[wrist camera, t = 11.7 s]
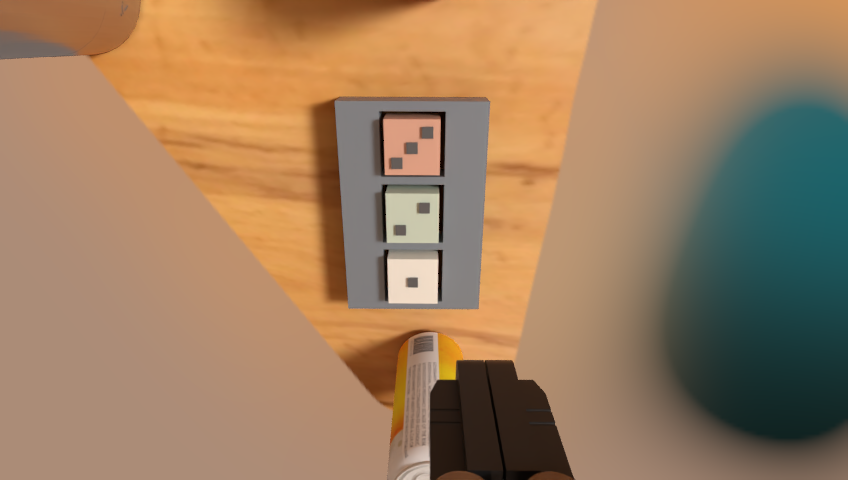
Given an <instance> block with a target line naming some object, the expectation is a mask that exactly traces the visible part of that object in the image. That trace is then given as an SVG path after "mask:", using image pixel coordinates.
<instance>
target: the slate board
mask: <svg viewBox="0 0 848 480" xmlns="http://www.w3.org/2000/svg"><path fill="white" fill-rule="evenodd" d="M382 111H432V112H445V120H444V169H440V175H385V168H384V166H383V133H382ZM489 112H490V101H489V100H488V99H487V98H486V97H339V98H338V99H337V100H335V116H336V130H337V145H338V160H339V175H340V190H341V204H342V219H343V234H344V249H345V263H346V278H347V293H348V308H368V309H478V307H479V289H480V272H481V254H482V236H483V219H484V201H485V183H486V165H487V148H488V130H489ZM384 184H402V185H443V218H442V231H439V243H387V231H385V199H384ZM386 249H399V250H442V267H441V287H438V303H437V304H408V303H389V298H388V287H387V266H386Z"/></svg>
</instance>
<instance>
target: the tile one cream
mask: <svg viewBox="0 0 848 480" xmlns="http://www.w3.org/2000/svg"><path fill="white" fill-rule="evenodd" d="M387 264H388V298H389V303H408V304H437V303H438V250H399V249H389V253H388V258H387Z"/></svg>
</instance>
